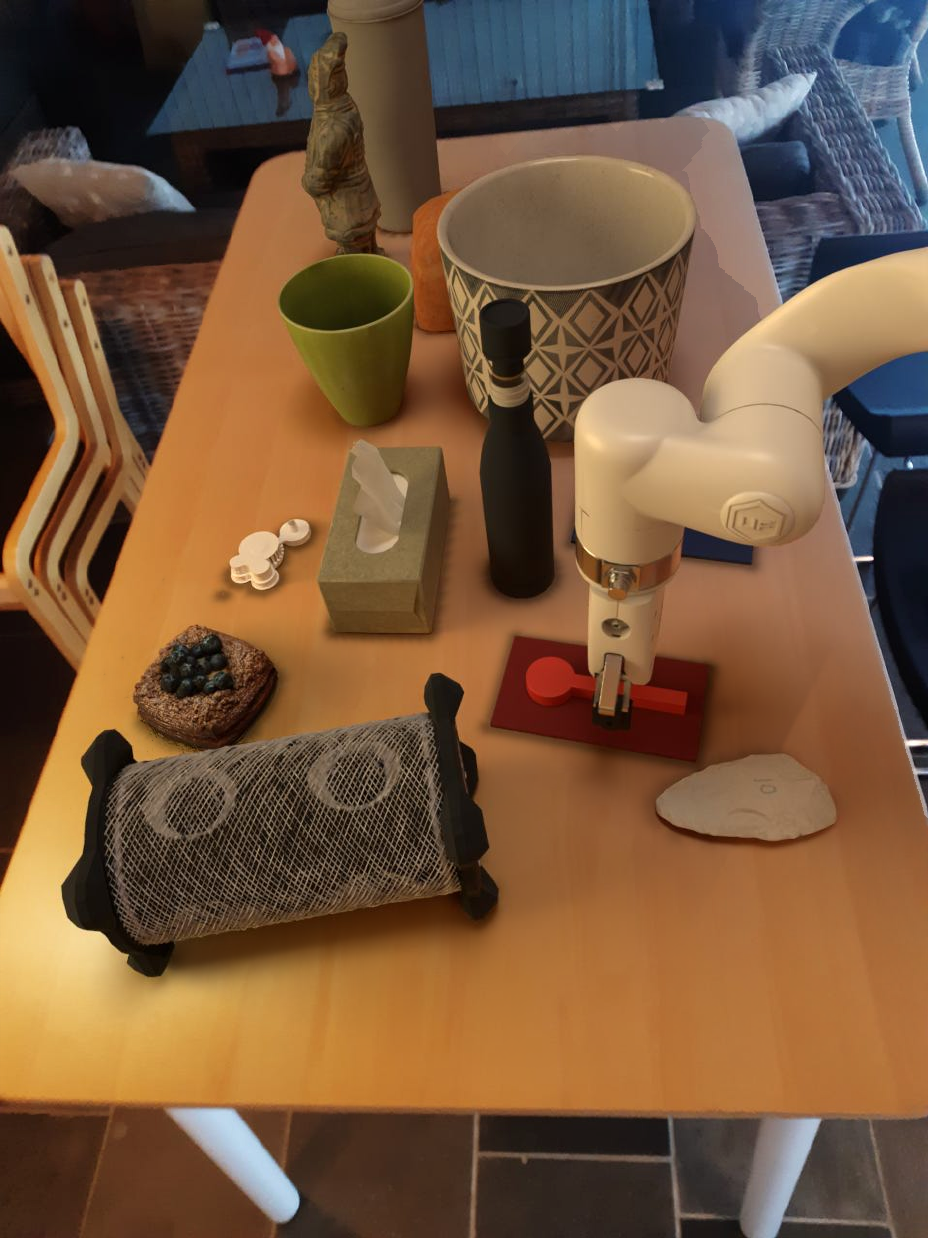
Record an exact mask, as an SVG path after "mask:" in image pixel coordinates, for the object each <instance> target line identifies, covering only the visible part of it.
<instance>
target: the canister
mask: <svg viewBox="0 0 928 1238" xmlns="http://www.w3.org/2000/svg"><path fill="white" fill-rule="evenodd" d="M424 1H425V0H327V8H326V14H327V15H328V17H329V21H330V26H331V29H332V31H331V32H332V34H333V33H335V32H344V33H345V34H346V36H347V43H348V46H347V50H346V52H345V53H346V54H345V59H344V60H345V64H346V65H345V70H346V73H347V77H348V88H347V92H348V93H349V94H350V95H351V97H352V98H353V101H354V102H355V103H356V105H357V107H358V110H359V113H360V117H361V120H362V121H363V125H364V131H363V138H364V145H365V148H364V150H365V155H364V156H365V160H366V163H367V166H368V170H369V174H370V176H371V179H372V183H373V186H374V189H375V192H376V195H377V197H378V199H379V201H380V204H381V207H380V210H381V216H380V218H379V219H378V221H377V225H376V226H378V227H379V228H381V229H383V230H385V231H389V232H393V233H407V232H409V233H410V232H413V214H414V213H415V212H416V211H417V209H418V208H419V207H420V206H422V205H423V204H424V203H426V202H427V201H429V200H430V199H431V198H434V197H437V196H440V195H443V194H442V185H441V175H440V165H439V164H440V163H439V162H440V161H439V154H438V153H439V152H438V142H437V131H436V119H435V110H434V100H433V89H432V81H431V69H430V60H429V50H428V49H429V48H428V40H427V30H426V29H427V28H426V19H425V10H424V9H425V8H424Z"/></svg>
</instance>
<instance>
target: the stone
mask: <svg viewBox="0 0 928 1238" xmlns="http://www.w3.org/2000/svg"><path fill="white" fill-rule="evenodd" d="M655 808H656V810H655V811H656V813H657V814H658V816H660V817H661V818H663V819H665V820H666V821H667V822H669V823H670V824H672V825H673V826H675V827H677V828H683V829H687V830H691V831H694V832H696V833H698V834H701V835H709V836H713V837H725V838H726V837H731V838H745V839H749V838H751V839H752V838H757V839H758V840H761V841H762V840H763V841H768V842H777V841H778V842H779V841H784V840H788V839H789V840H790V839H793V840H794V839H795V840H796V839H797V838H799V837H800V836H801V837H805V836H807V835H811V834H814V833H816V832H819V831H822V830H825V829H826V828H828V827H830V826H832V825H835V822H836V821H837V808H836V804H835V802H834V800H833V797H832V795H831V793H830V790H829V785H828V784H827V783H826V782H824V780H822V778H821V777H820V775H818V774H817V773H815V772H813V771H812V770H810V769H808V768H807V767H805V766H803V765H802V764H801V763H800V762H799V761H798V760H796V759H795V758H793V757H792V756H791V755H790V754H788V753H784V752H780V753H775V754H768V753H767V754H766V753H765V754H750V755H748V756H746V757H743V758H739V759H736V760H735V759H734V760H731V761H728V762H727V761H724V762H719V763H718V764H710V765H709V766H707V767H706V768H704V769H703V770H701V771H696V772H693V773H691V774H689V775H688V776H685V777H683V778H682V779H680V780H678V781H676V782H675V783H673V784H672V785H670V786H669V787H666V789H665V790H664V791H663V793H661V794H659V796H658V797H657V798H656V800H655Z"/></svg>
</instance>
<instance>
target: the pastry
mask: <svg viewBox="0 0 928 1238" xmlns="http://www.w3.org/2000/svg"><path fill="white" fill-rule="evenodd" d="M278 674H279V671H278V669H277V668H276V667H275V663H274V662H273V660H271V659H270V657H269V656H268V655H267V654H266V651H265V650H263V649H259V648H257V647H256V646H254V645H252V644H251V643H249V642H247V641H245V640H243V639H240V638H238V637H235V636H233V635H230V634H227V633H225V632H222V631H219V630H216V629H211V628H208V627H207V626H205V625H204V626H200V625H199V624H197V623H196V624H194V625H190V626H188V627H187V628H186V629H183V631H182V632H181V633H179V634H177V635H175V636H174V637H173V639H171V640H170V641H169V642H168V643H166V645H165V646H164V647H163V648H161V647H160V648H159V649H158V656H157V657H156V658H155V660H154V661H153V662H151V664H150V665H149V666H148V668H147V669H146V670H145V671H144V672H143V674H142V675H141V676H140V679H139V682H135V685H134V689H135V690H134V691H133V693H132V701H133V703H134V704H135V705H136V706H137V709H136V710H137V714H138V715H139V716H140V717H141V719H142V720H144V722H145V723H146V724H147V725H148V726H149V727H150V728H151V729H152V730H154V731H155V732H157V733H159V734H160V735H161V736H164V737H165V738H167V739H169V740H172V741H174V742H176V743H179V744H181V745H182V744H183V745H186V746H189V747H192V748H195V749H197V750H199V752H203V751H206V750H209V749H211V750H215V749H219V748H222V747H225V746H234V745H236V743H238V742H239V740H241V738H243V737H244V736H245V735H246V734H247V733H248V732H249V731H250V730H251V729H252V727H253V726H254V725H255V724H256V722H257V721H259V719H260V717H262V715H263V714H264V713H265V711H266V710H267V708H268V707H269V705H270V704H271V702H272V701H273V697H274V695H275V693H276V690H277V686H278V684H279V680H280V679H279V676H278Z"/></svg>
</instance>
